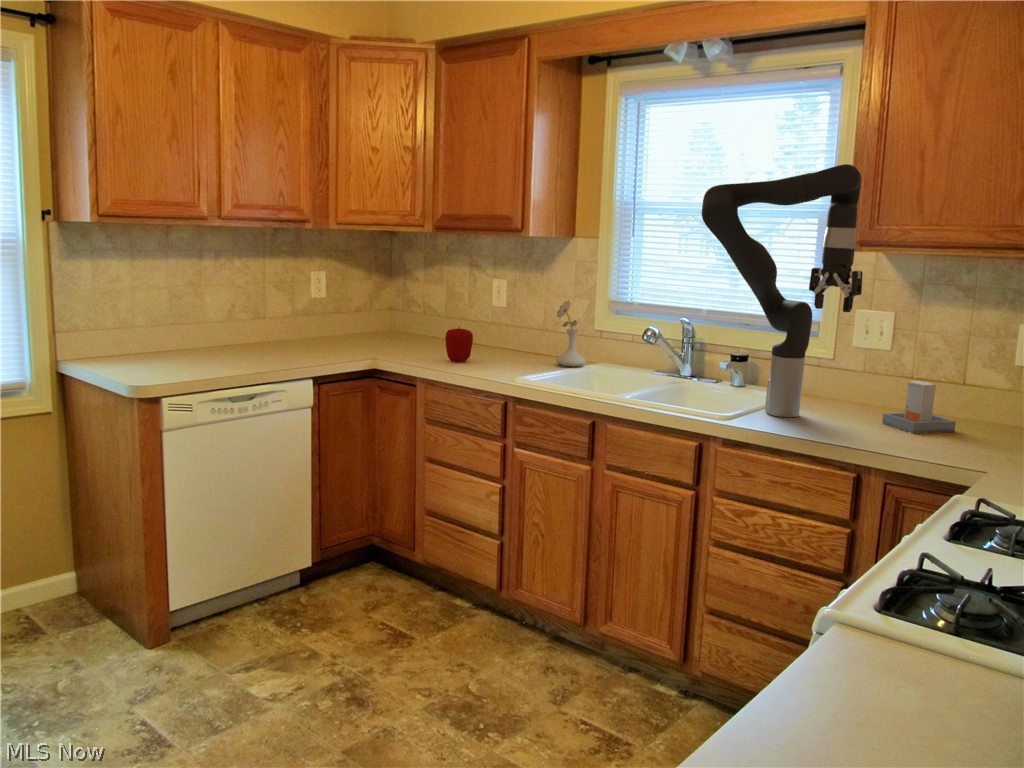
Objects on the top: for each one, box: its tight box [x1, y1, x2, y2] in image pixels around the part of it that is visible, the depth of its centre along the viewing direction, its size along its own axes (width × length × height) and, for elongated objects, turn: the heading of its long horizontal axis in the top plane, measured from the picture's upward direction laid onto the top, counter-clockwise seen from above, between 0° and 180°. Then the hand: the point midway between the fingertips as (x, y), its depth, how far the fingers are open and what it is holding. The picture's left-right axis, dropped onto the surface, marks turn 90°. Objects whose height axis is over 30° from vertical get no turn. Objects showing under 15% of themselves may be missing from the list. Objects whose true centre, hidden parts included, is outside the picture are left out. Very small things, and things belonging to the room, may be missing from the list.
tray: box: [881, 412, 956, 434], centre depth 245 cm, size 12×14×3 cm
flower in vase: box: [555, 299, 587, 368], centre depth 330 cm, size 13×11×25 cm
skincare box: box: [903, 380, 937, 422], centre depth 244 cm, size 6×4×12 cm
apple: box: [445, 326, 474, 364], centre depth 332 cm, size 11×10×14 cm
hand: (832, 310), depth 225 cm, fingers open, 8 cm apart
